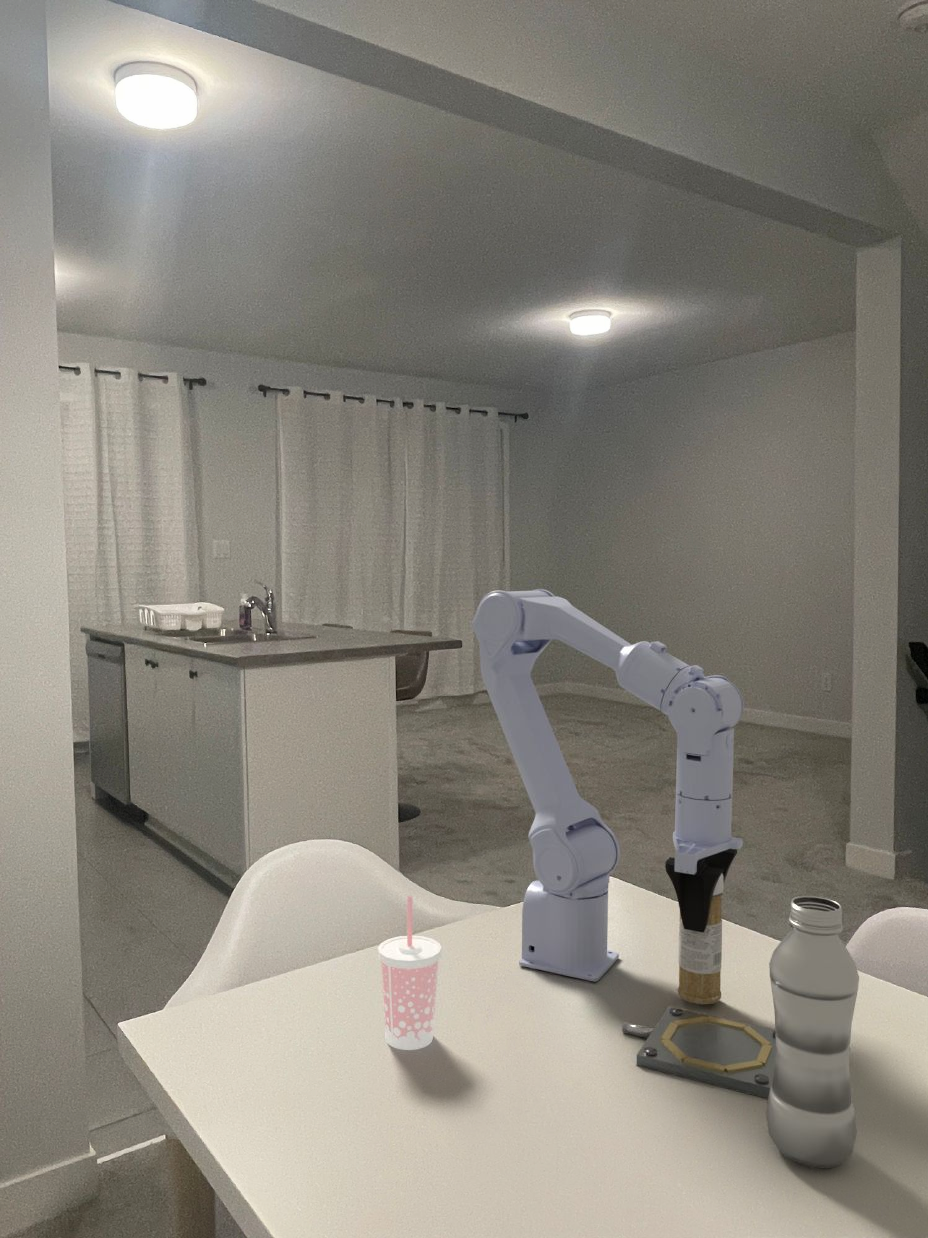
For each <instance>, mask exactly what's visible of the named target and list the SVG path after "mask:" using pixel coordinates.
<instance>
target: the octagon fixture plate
mask: <svg viewBox="0 0 928 1238" xmlns="http://www.w3.org/2000/svg"><path fill="white" fill-rule="evenodd" d="M621 1030H622V1031H621V1032H622V1033H624V1034H628V1035H632V1036H635V1037H636V1036H637V1037H640V1038H645V1039H646V1040H645V1041H644V1043H643V1044H642V1046H641V1047H640V1049H639V1050H638V1052H637V1053H636V1066H638V1067H642V1068H646V1069H650V1070H653V1071H656V1072H662V1073H665V1074H670V1075H673V1076H676V1077H681V1078H685V1079H689V1080H693V1081H697V1082H701V1083H705V1084H709V1085H713V1086H715V1087H716V1086H717V1087H721V1088H725V1089H728V1090H731V1091H732V1090H733V1091H736V1092H740V1093H744V1094H748V1095H752V1096H756V1097H759V1098H763V1099H766V1100H768V1096H769V1092H770V1088H771V1085H772V1078H773V1069H774V1060H775V1050H776V1038H775V1035H776V1031H775V1028H770V1027H765V1026H760V1025H755V1024H751V1023H747V1022H741V1021H738V1020H733V1019H728V1018H724V1017H720V1016H719V1017H718V1016H716V1015H710V1014H706V1013H701V1012H697V1011H693V1010H688V1009H683V1008H679V1007H674V1006H670V1005H669V1006H668V1007H667V1008H666V1010H665V1012H664V1013H663V1015H661V1018H660V1019H659V1020H658V1022H657V1024H656V1025H655V1027H653V1028H652V1027H649V1026H645V1025H640V1024H636V1023H632V1022H627V1021H624V1022H623V1023H622V1029H621Z"/></svg>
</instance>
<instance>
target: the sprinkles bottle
mask: <svg viewBox="0 0 928 1238" xmlns="http://www.w3.org/2000/svg"><path fill="white" fill-rule="evenodd" d="M724 885H725V883H724V884H723V874H721V876H720V877H719V879H718V882H717V884H716V886H715V889H714V893H713V896H712V901H711V907H710V913H709V918H708V923H707V926H706V929H705V931H704V932H697V931H692V930H687V929H684V927H683V923H682V919H681V914H680V913H679V932H678V933H679V936H678V967H679V968H678V970H679V971H678V988H677V993H678V996H679V997H680V998H681V999H683V1000H684V1001H686V1002H689V1003H692V1004H696V1005H712V1004H716V1003H718V1002H719V1001H720V1000H721V998H722V992H721V981H722V980H721V974H722V973H721V971H722V970H721V969H722V957H723V956H722V949H723V946H722V945H723V919H722V917H723V916H722V912H723V911H722V896H723V895H724V893H723V892H724V888H725V887H724Z"/></svg>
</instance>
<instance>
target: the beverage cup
mask: <svg viewBox="0 0 928 1238" xmlns="http://www.w3.org/2000/svg"><path fill="white" fill-rule="evenodd" d="M406 899H407V900H406V901H407V902H406V903H407V904H406V905H407V906H406V908H407V909H406V910H407V913H406V914H407V916H406V918H407V919H406V921H407V923H406V924H407V927H406V932H407V933H406V934H407V935H401V936H399V935H398V936H395V937H392V938H388V939H386V940H384V941H382V942H381V943H380V944H379V946H378V947H377V952H378V959H379V961H380V963H381V964H380V968H381V983H382V984H381V985H382V999H383V1000H382V1001H383V1015H384V1016H383V1017H384V1034H385V1041H386V1044H388V1045H389V1046H390V1047H392V1048H395V1049H398V1050H405V1051H414V1050H420V1049H423V1048H425V1047H427V1046H428V1045H430V1044H431V1043H432V1041H433V1038H434V1033H435V1032H434V1031H435V1030H434V1029H435V1015H436V1000H437V999H436V998H437V987H438V986H437V984H438V970H439V961H440V959H441V956H442V953H441V952H442V946H441V944H440V942H439V941H437V940H435V939H434V938H431V937H427V936H422V935H413V896H412V895H407V898H406Z"/></svg>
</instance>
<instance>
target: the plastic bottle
mask: <svg viewBox="0 0 928 1238" xmlns="http://www.w3.org/2000/svg"><path fill="white" fill-rule="evenodd" d="M842 916H843V907H842V905H841V904H840V903H839V902H837V901H835V900H834V899H830V898H826V897H821V896H815V895H800V896H795V897H793V898H792V899H791V902H790V914H789V916H788V925H789V926H790V928H791V931H789V933H788V934H787V935H786V936H785V937H784V938H783V939H782V940H781V941H780V942H779V944H778V945H776V947H775V949H774V950H773V952H772V954H771V957H770V960H769V963H768V965H769V967H768V969H769V978H770V986H771V994H772V1001H773V1009H774V1030H775V1031H776V1035H775V1038H776V1050H775V1060H774V1069H773V1078H772V1085H771V1088H770V1092H769V1096H768V1099H767V1103H766V1109H765V1118H766V1123H767V1124H766V1125H767V1132H768V1135H769V1137H770V1140H771V1141H772V1143H773V1145H774V1146H775V1147H776V1149H777V1150H778V1151H779V1152H780V1153H781V1154H782V1155H783V1156H785V1157H786V1158H787V1159H789V1160H791V1161H794V1162H796V1163H798V1164H800V1165H804V1166H807V1167H810V1168H811V1167H813V1168H820V1169H827V1168H830V1169H831V1168H835V1167H838V1166H841V1165H842V1164H844V1162H846V1160H848V1159H849V1158H850V1156H851V1155H852V1154H853V1151H854V1148H855V1144H856V1139H857V1134H858V1129H857V1121H856V1113H855V1108H854V1104H853V1100H852V1087H851V1086H852V1085H851V1073H850V1049H851V1047H850V1045H851V1038H852V1037H851V1036H852V1027H853V1026H852V1023H853V1018H854V1012H855V1009H856V1008H855V1007H856V1002H857V998H858V997H857V996H858V990H859V983H860V976H859V972H858V968H857V964H856V963H855V960H854V958H853V957H852V955H851V954H850V952H849V950H848V948H847V947H846V946H845V944H844V943H843V941H842V940H841V939H840V937H839V934H841V933H843V930H844V928H843V927H844V926H843V925H844V924H843V922H842V919H843V917H842Z"/></svg>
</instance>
